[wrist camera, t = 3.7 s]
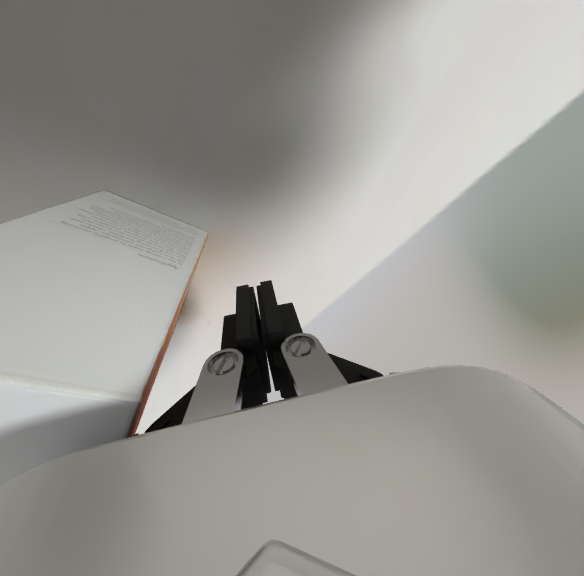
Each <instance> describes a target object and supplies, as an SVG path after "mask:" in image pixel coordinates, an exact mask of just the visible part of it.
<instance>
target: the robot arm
mask: <svg viewBox="0 0 584 576" xmlns="http://www.w3.org/2000/svg"><path fill="white" fill-rule="evenodd" d="M260 284H261V285H259V286H257V294H258V303H259V311H260V315H259V311H258V306H257V302H256V297H255V293H254V288H253V287H249V286H248V285H243V286H238V287H237V290H236V314H232V315H227V316H224V323H223V333H222V343H221V350H220V351H218V352H215V353H214V354H212V355H211V356H210V357H209V358H208V359H207V360H206V361H205V363H204V365H203V368H202V370H201V373H200V376H199V378H198V381H197V384H196V386H195V387H193V388H192V389H191V390H190V391H189V392H188V393H187V394H186V395H184V396H183V397H182V398H181V399H180V400H179V401H178V402H176V403H175V404H174V405H173V406H172V407H171V408H170V409H169V410H167V411H166V412H165V413H164V414H163V415H162V416H161V417H159V418H158V419H157V420H156V421H155V422H154V423H153V424H152V425H151V426H150V427H149V428H148V429H147V430H146V432H145V433H144V434H141V435H139V434H138V433H137V434H135V435H133V436H131V437H129V438H125V439H121V440H117V441H113V442H110V443H106V444H103V445H99V446H96V447H92V448H89V449H85V450H81V451H78V452H74V453H71V454H69V455H66V456H63V457H60V458H57V459H54V460H51V461H49V462H47V463H44V464H42V465H40V466H37V467H35V468H33V469H31V470H28V471H26V472H24V473H22V474H21V475H19V476H17V477H15V478H13V479H11V480H9V481H7V482H6V483H4V484H2V485H0V576H584V424H582V423H581V422H580V421H579V420H577V419H576V418H575V417H573V416H572V415H570V414H569V413H568V412H566V411H565V410H563V409H562V408H561V407H560V406H558V405H557V404H556V403H554V402H553V401H551V400H550V399H549V398H547V397H546V396H544V395H543V394H541V393H540V392H538V391H537V390H536V389H534V388H532V387H531V386H529V385H528V384H526V383H524V382H523V381H521V380H519V379H517V378H515V377H513V376H511V375H509V374H506V373H503V372H501V371H498V370H493V369H488V368H483V367H474V366H463V365H453V366H436V367H427V368H421V369H416V370H411V371H406V372H398V373H389V375H386V376H383V375H382V374H381V373H379V372H377V371H375V370H372V369H369V368H367V367H364V366H361V365H359V364H356V363H353V362H350V361H348V360H345V359H343V358H340V357H337V356H334V355H332V354H329V353H327V352H326V350H325V349H324V348H323V346H322V345H321V343H320V342H319V340H318V339H317V338H316V337H315V336H313V335H311V334H306V333H303V332H302V329H301V326H300V323H299V320H298V317H297V315H296V312H295V309H294V306H293V303H287V304H282V305H277V301H276V297H275V293H274V289H273V285H272V281H271V280H270V281H264V282H260ZM266 353H267V354H266ZM267 357H268V361H269V366H270V370H271V374H272V379H273V383H274V388H275V391H279V390H280V393H281V397H282V398H284V400H279V401H275V402H271V403H267V404H263V403H265V402H267V393H270V392H271V385H270V377H269V370H268V362H267ZM262 404H263V405H262Z"/></svg>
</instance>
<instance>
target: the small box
mask: <svg viewBox="0 0 584 576" xmlns="http://www.w3.org/2000/svg"><path fill="white" fill-rule="evenodd" d="M207 236H208V233H207V232H206V231H204V230H201V229H199V228H196V227H194V226H191V225H188V224H186V223H184V222H181V221H179V220H176V219H174V218H171V217H169V216H166V215H164V214H161V213H159V212H156V211H154V210H152V209H149V208H147V207H144V206H142V205H139V204H137V203H134V202H132V201H129V200H127V199H124V198H122V197H119V196H117V195H115V194H112V193H110V192H107V191H100V192H97V193H94V194H91V195H87V196H84V197H81V198H78V199H75V200H72V201H69V202H65V203H62V204H59V205H56V206H53V207H49V208H46V209H43V210H40V211H37V212H34V213H31V214H28V215H25V216H22V217H19V218H16V219H12V220H9V221H6V222H3V223H0V485H2V484H4V483H6V482H7V481H9V480H11V479H13V478H15V477H17V476H19V475H21V474H22V473H24V472H26V471H28V470H31V469H33V468H35V467H37V466H40V465H42V464H44V463H47V462H49V461H51V460H54V459H57V458H60V457H63V456H66V455H69V454H71V453H74V452H78V451H81V450H85V449H89V448H92V447H96V446H99V445H103V444H106V443H110V442H113V441H117V440H121V439H125V438H129V437H131V436H133V435H135V432H136V430H137V427H138V424H139V422H140V419H141V416H142V414H143V411H144V408H145V405H146V403H147V400H148V397H149V395H150V392H151V389H152V387H153V384H154V381H155V379H156V376H157V373H158V371H159V368H160V365H161V363H162V360H163V357H164V355H165V352H166V350H167V347H168V344H169V342H170V339H171V337H172V334H173V331H174V329H175V326H176V323H177V320H178V317H179V314H180V311H181V308H182V305H183V302H184V300H185V297H186V294H187V291H188V288H189V286H190V283H191V280H192V277H193V275H194V272H195V269H196V266H197V264H198V261H199V258H200V255H201V253H202V250H203V247H204V244H205V242H206V239H207Z"/></svg>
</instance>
